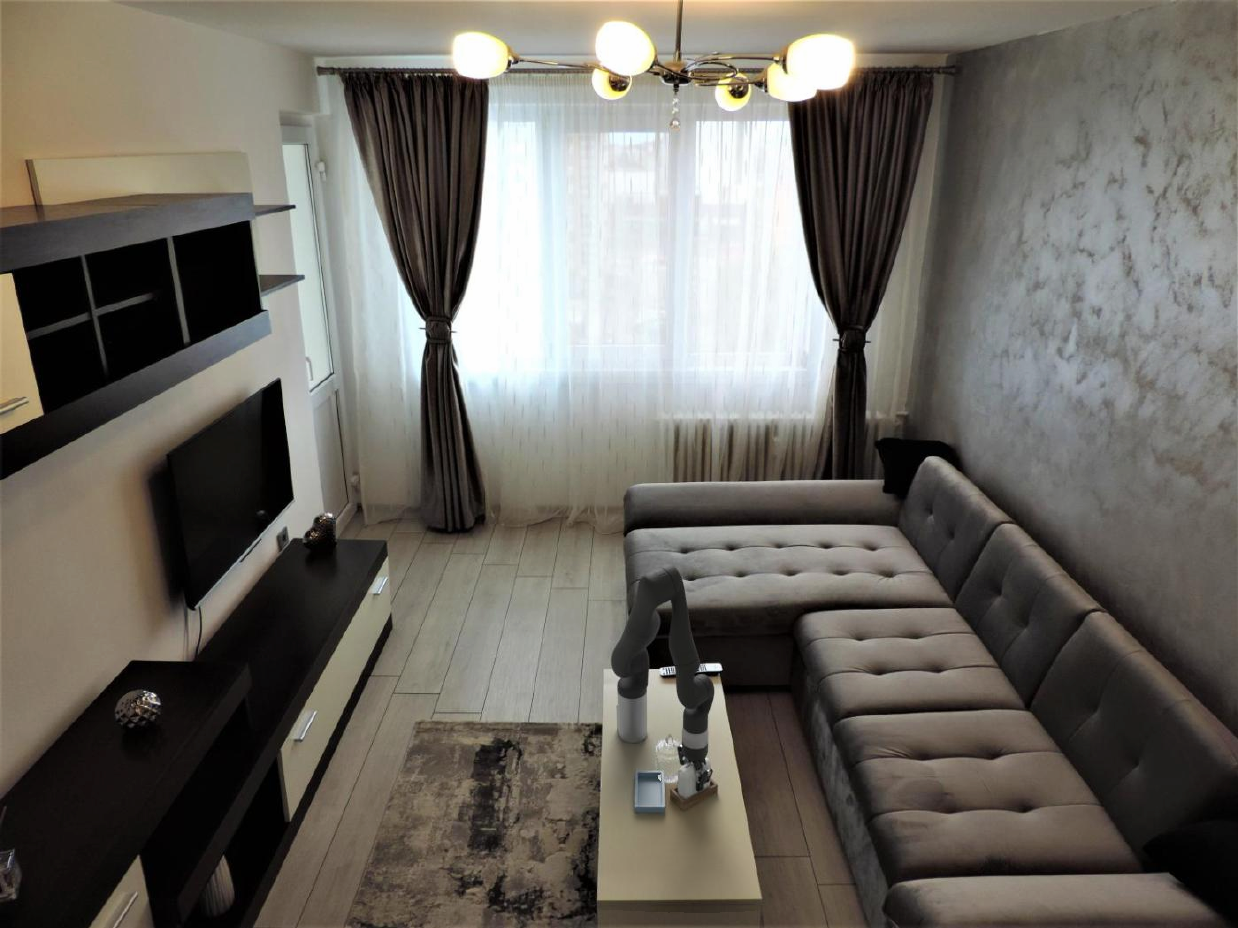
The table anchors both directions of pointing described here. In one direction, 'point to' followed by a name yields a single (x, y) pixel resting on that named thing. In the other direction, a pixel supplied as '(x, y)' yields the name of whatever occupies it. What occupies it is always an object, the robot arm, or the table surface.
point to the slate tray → (649, 792)
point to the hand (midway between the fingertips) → (694, 784)
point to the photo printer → (689, 781)
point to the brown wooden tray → (694, 799)
